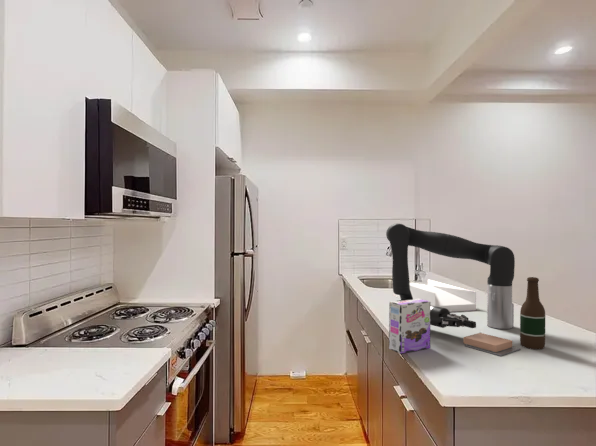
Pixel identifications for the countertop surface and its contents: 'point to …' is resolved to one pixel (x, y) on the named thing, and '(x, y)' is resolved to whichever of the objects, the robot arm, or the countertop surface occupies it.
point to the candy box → (409, 325)
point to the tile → (488, 342)
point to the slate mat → (496, 352)
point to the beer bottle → (532, 318)
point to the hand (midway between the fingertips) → (474, 325)
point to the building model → (444, 295)
